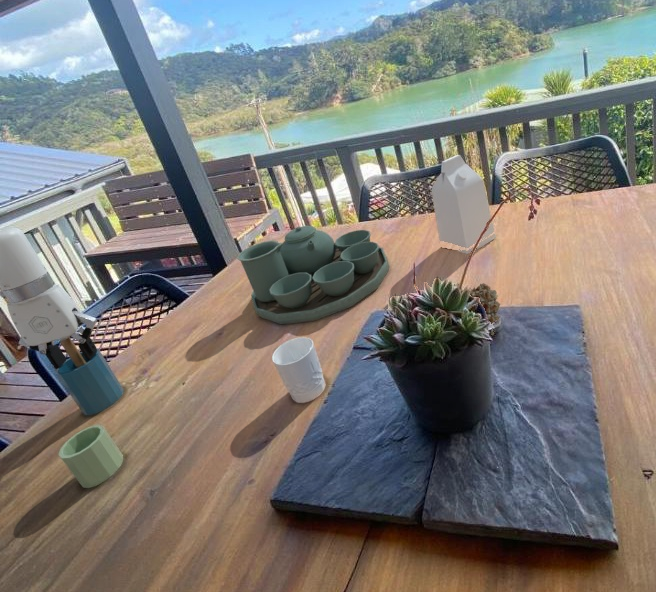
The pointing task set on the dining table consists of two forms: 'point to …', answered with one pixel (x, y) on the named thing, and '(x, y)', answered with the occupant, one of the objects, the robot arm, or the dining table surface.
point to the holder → (91, 456)
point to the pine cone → (487, 301)
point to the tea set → (312, 274)
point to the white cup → (299, 369)
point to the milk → (461, 205)
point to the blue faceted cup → (90, 383)
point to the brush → (72, 351)
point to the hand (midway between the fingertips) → (76, 359)
